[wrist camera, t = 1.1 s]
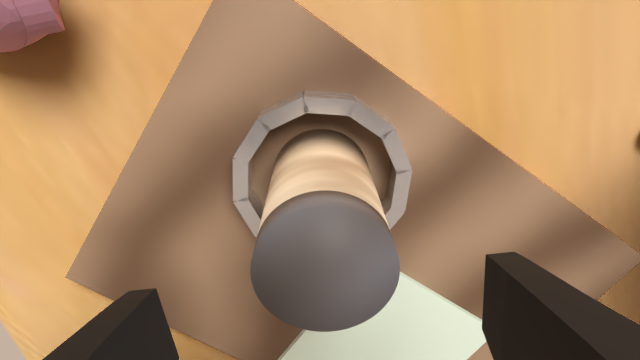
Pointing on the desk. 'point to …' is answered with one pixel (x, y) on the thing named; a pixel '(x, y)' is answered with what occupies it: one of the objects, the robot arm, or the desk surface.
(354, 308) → the beech pin
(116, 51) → the desk surface
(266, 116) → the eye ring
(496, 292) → the robot arm
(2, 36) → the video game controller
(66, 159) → the desk surface
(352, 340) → the sage pad
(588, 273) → the walnut board
